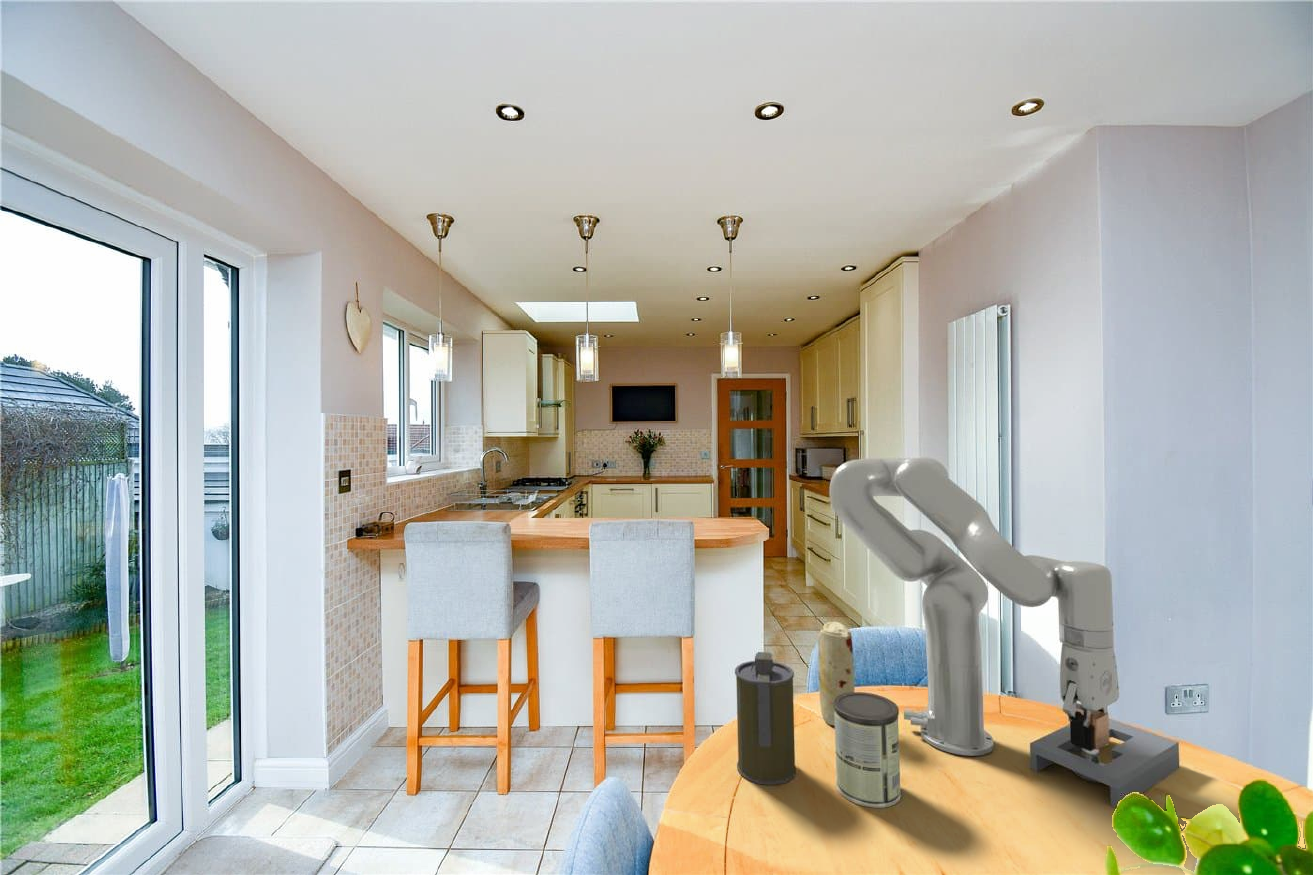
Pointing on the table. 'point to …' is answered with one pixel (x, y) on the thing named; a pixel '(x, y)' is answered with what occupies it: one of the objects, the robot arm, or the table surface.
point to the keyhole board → (1133, 762)
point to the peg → (1096, 738)
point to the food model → (834, 666)
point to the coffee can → (867, 749)
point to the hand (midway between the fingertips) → (1089, 742)
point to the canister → (765, 721)
